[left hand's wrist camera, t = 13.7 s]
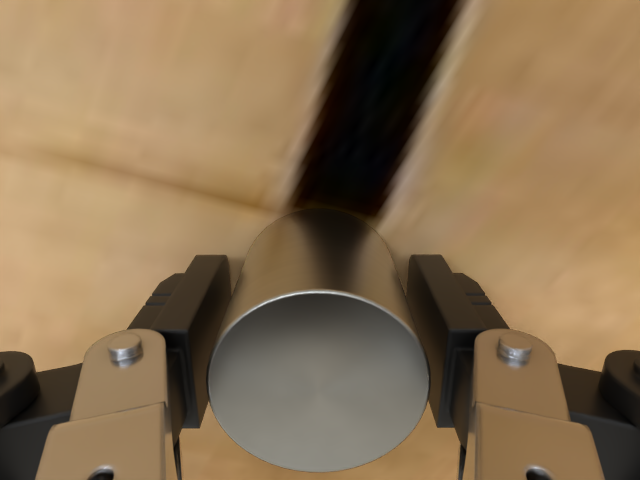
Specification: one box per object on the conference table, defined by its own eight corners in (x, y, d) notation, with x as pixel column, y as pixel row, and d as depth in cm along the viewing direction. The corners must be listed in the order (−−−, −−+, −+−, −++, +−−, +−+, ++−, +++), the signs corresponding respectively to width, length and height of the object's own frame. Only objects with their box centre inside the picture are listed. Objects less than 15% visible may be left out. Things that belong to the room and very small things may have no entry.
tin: (418, 236, 12) (471, 332, 8) (361, 359, 13) (379, 495, 9) (269, 186, 11) (240, 258, 7) (226, 318, 13) (182, 443, 9)
